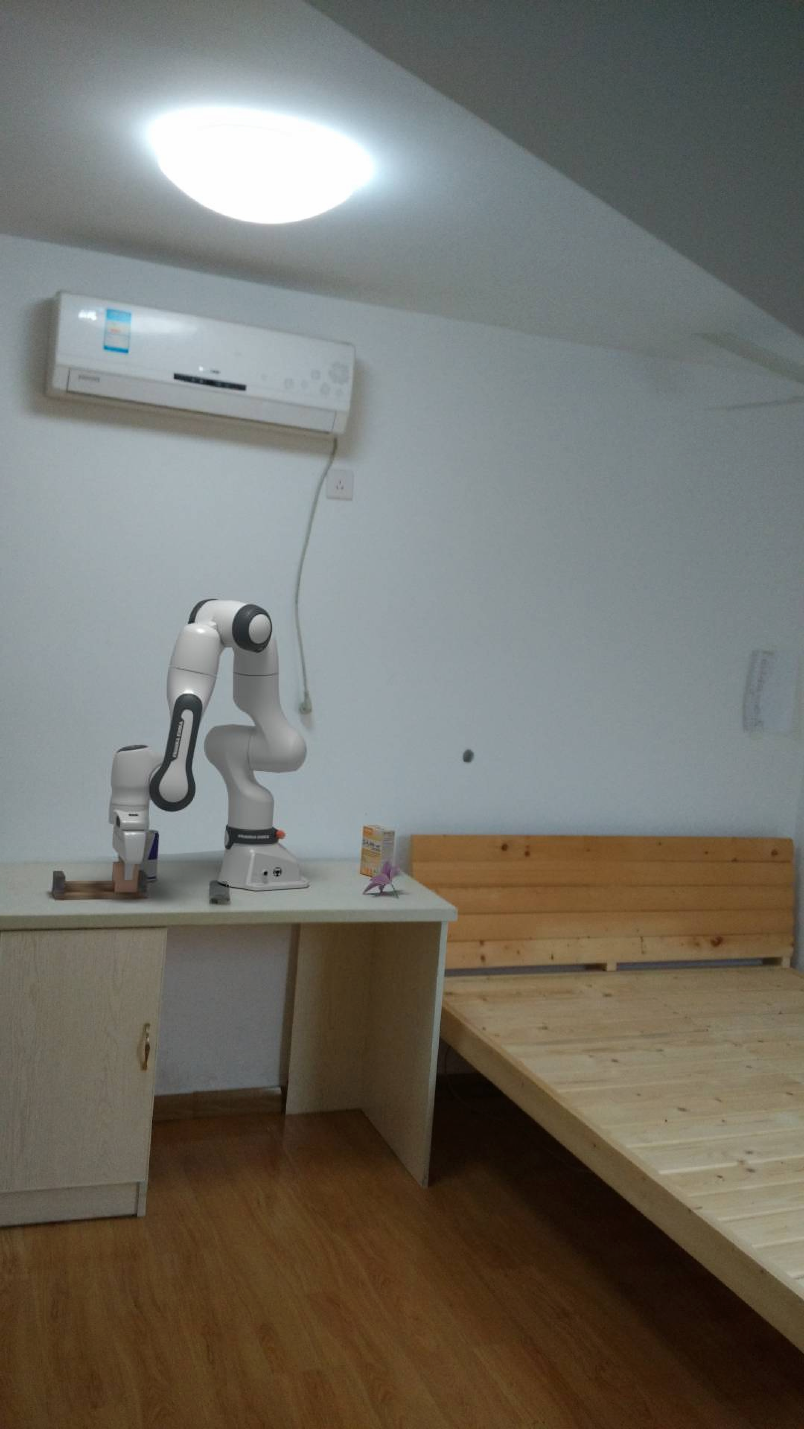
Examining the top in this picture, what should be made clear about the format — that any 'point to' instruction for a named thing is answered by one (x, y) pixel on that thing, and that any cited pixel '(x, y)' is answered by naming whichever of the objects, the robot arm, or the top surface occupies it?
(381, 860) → the supplement box
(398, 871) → the lily
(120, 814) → the robot arm
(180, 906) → the top surface
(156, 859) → the energy drink
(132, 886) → the brown sliding block
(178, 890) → the top surface
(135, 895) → the rail
